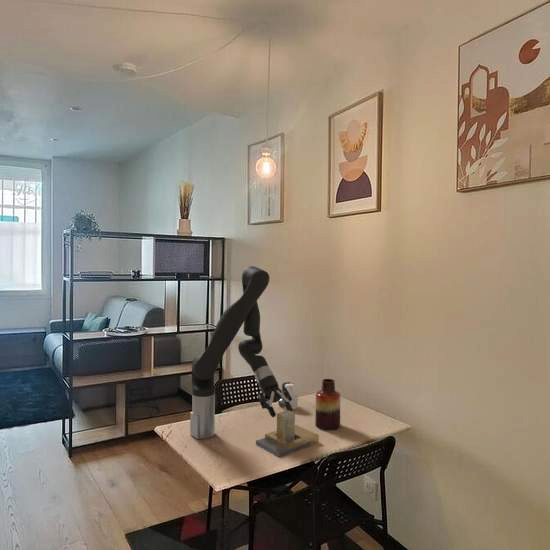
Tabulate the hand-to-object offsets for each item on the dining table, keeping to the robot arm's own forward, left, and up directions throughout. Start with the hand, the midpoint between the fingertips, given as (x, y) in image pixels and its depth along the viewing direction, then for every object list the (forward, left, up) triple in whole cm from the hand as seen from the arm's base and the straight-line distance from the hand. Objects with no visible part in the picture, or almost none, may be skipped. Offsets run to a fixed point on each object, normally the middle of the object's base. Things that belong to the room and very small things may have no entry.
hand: (282, 414), depth 178 cm
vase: (+26, 0, -11) cm, 29 cm away
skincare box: (0, -2, -11) cm, 11 cm away
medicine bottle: (+28, +29, -11) cm, 42 cm away
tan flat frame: (0, -3, -11) cm, 11 cm away
